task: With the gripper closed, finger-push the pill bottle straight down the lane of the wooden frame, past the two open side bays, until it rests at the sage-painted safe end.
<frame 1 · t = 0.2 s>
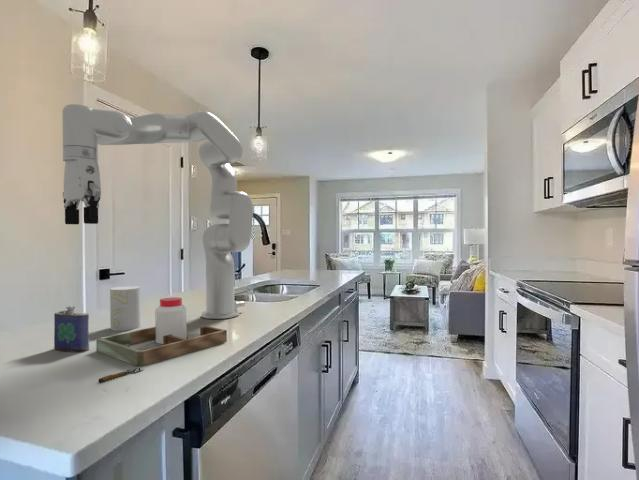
hand: (81, 223, 101), 31 cm above the table, fingers open, 9 cm apart
can opener: (122, 378, 79), on the table
pill bottle: (171, 340, 106), resting in wooden frame
cup: (125, 328, 120), on the table
wooden frame: (164, 346, 100), on the table
flask: (70, 350, 97), on the table
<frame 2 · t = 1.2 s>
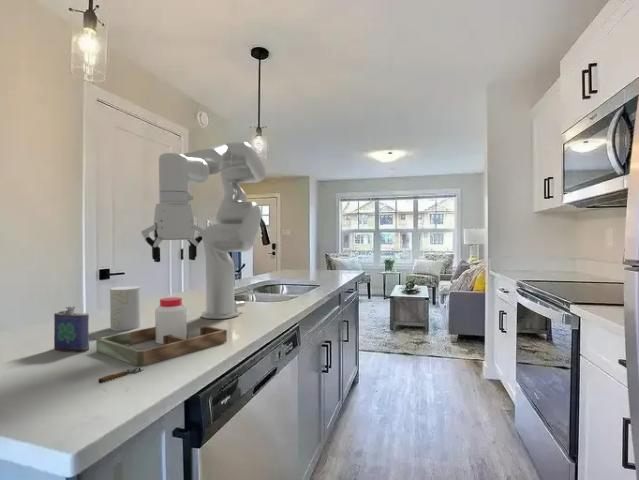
hand: (175, 260, 110), 21 cm above the table, fingers open, 9 cm apart
nothing on the table moved.
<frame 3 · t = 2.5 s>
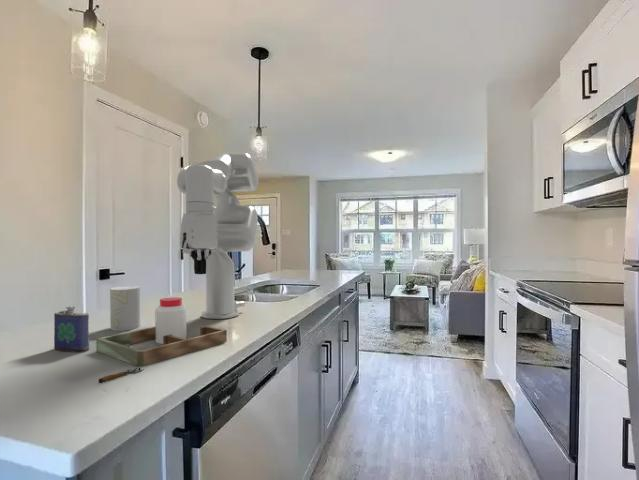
hand: (200, 273, 113), 17 cm above the table, fingers closed
nothing on the table moved.
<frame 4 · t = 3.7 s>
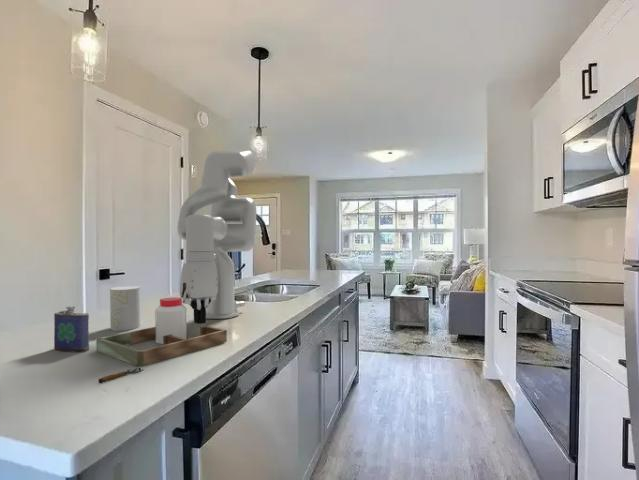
hand: (199, 322, 113), 3 cm above the table, fingers closed
nothing on the table moved.
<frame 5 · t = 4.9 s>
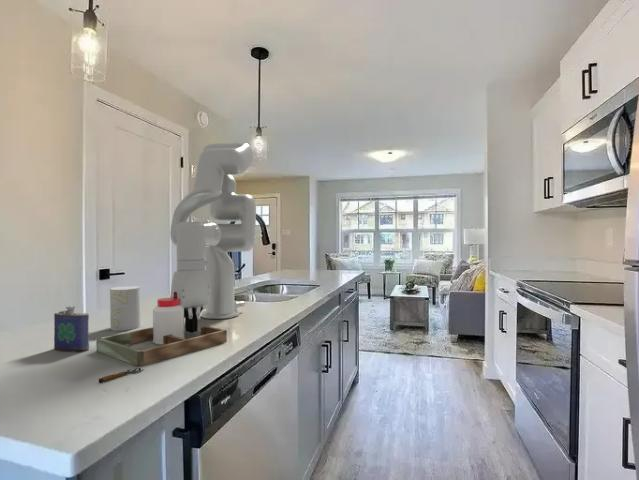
hand: (191, 331, 111), 1 cm above the table, fingers closed
pill bottle: (168, 341, 105), resting in wooden frame, touching gripper
everything else where it was.
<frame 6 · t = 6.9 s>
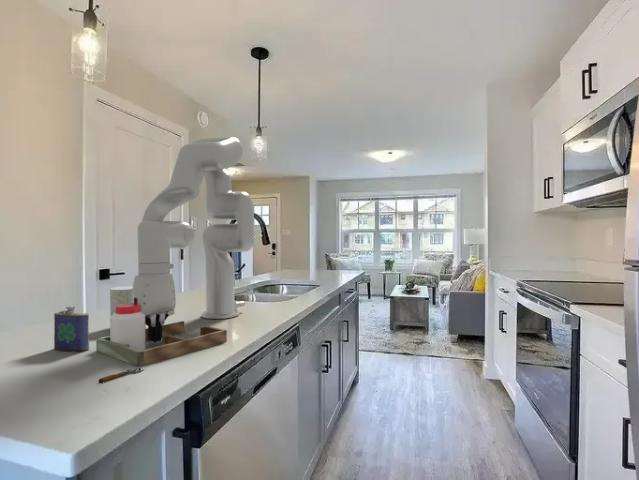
hand: (155, 340, 102), 1 cm above the table, fingers closed
pill bottle: (128, 351, 97), resting in wooden frame, touching gripper
everything else where it was.
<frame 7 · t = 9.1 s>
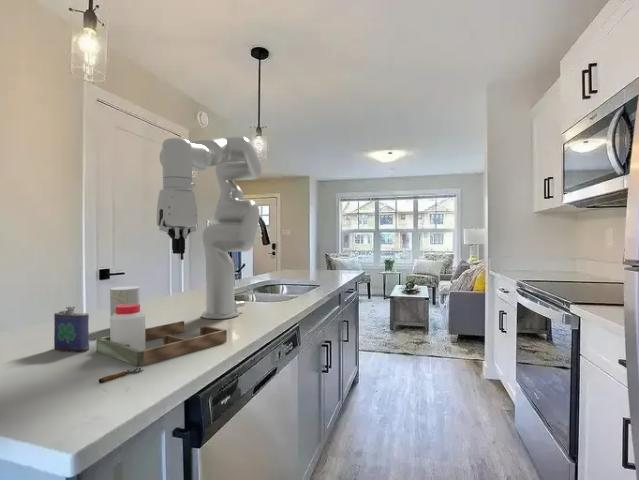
hand: (178, 253, 108), 23 cm above the table, fingers closed
pill bottle: (128, 351, 97), resting in wooden frame
everything else where it was.
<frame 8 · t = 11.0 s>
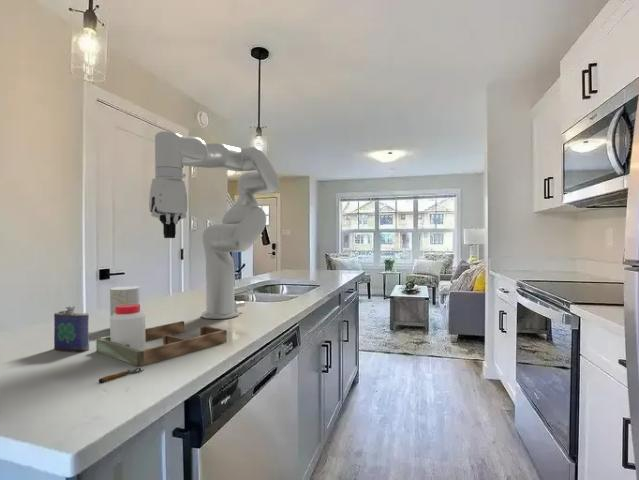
hand: (169, 237, 117), 27 cm above the table, fingers closed
nothing on the table moved.
at the end: pill bottle inside the target area (0.4 cm from its centre), resting in wooden frame; pill bottle tilted 0° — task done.
